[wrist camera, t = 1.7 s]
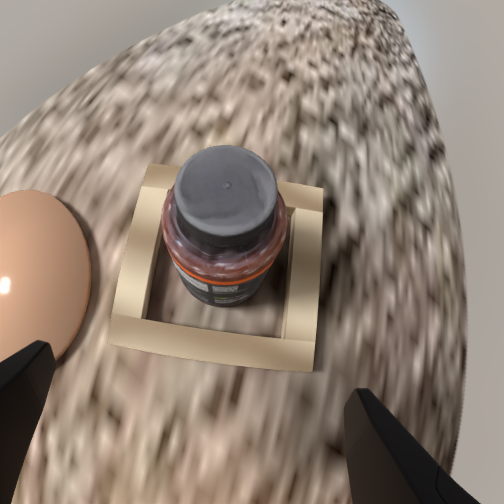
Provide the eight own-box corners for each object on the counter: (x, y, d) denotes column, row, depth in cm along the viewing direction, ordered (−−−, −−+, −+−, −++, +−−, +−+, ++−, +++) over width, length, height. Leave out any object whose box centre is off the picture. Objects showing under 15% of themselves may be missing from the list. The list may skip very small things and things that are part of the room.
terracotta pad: (26, 416, 17) (19, 418, 16) (-64, 294, 19) (-70, 292, 18) (130, 261, 22) (127, 257, 21) (21, 168, 23) (16, 162, 22)
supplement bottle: (235, 212, 24) (252, 106, 13) (280, 280, 23) (336, 211, 12) (164, 252, 23) (125, 163, 12) (207, 325, 21) (199, 293, 11)
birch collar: (305, 371, 21) (312, 372, 20) (113, 344, 20) (107, 343, 19) (317, 197, 25) (323, 188, 24) (151, 173, 24) (148, 163, 23)
